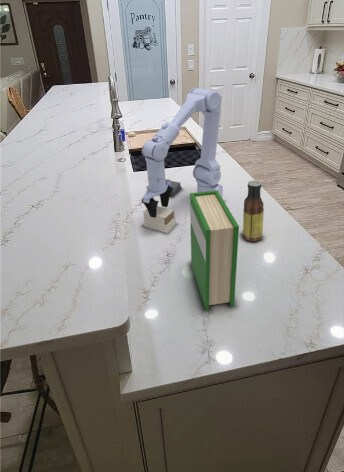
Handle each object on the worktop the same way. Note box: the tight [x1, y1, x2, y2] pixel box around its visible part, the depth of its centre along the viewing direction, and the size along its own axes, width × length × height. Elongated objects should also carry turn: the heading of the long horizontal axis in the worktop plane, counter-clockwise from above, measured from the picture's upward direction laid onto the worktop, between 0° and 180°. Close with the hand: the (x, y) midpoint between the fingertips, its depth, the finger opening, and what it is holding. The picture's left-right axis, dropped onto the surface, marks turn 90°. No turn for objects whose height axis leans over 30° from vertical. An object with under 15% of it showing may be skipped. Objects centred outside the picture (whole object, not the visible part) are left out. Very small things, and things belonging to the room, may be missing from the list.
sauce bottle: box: [242, 180, 265, 242], centre depth 104 cm, size 6×6×20 cm
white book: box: [143, 205, 175, 225], centre depth 115 cm, size 9×6×3 cm, turn 60°
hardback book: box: [189, 190, 240, 311], centre depth 85 cm, size 18×7×24 cm, turn 9°
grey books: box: [169, 180, 183, 198], centre depth 140 cm, size 11×8×3 cm
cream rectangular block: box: [143, 217, 177, 234], centre depth 116 cm, size 10×6×3 cm, turn 60°
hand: (159, 211), depth 114 cm, fingers open, 7 cm apart
